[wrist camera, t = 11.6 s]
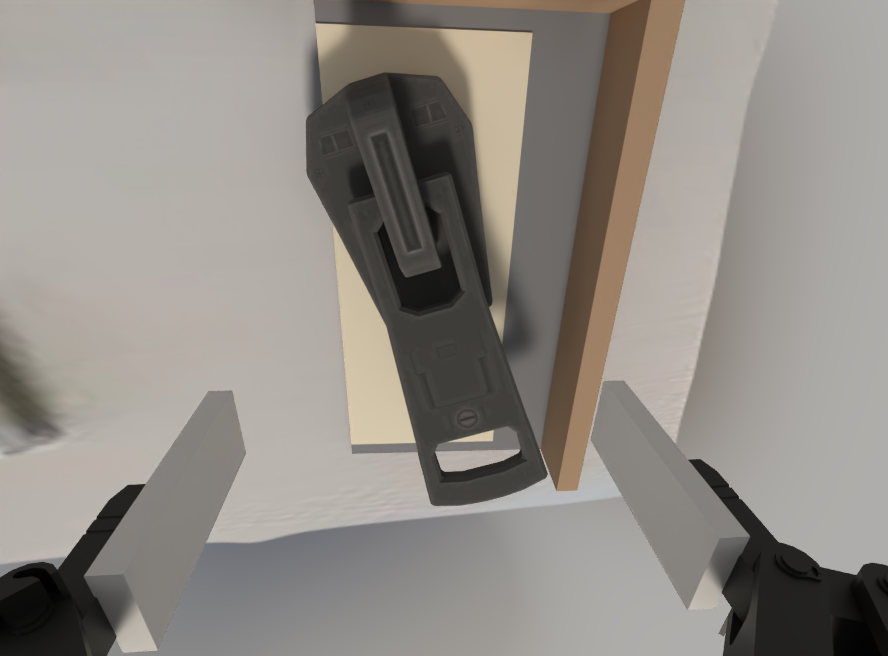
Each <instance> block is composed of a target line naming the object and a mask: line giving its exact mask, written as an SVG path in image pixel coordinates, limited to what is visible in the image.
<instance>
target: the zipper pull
mask: <svg viewBox="0 0 888 656" xmlns="http://www.w3.org/2000/svg"><path fill="white" fill-rule="evenodd" d="M306 158H307V175H308V178H309V180H310V182H311V184H312V185H313V187H314V189H315V191H316V193H317V195H318V197H319V198H320V200H321V202H322V204H323V206H324V208H325V210H326V211H327V213H328V215H329V217H330V219H331V221H332V223H333V225H334V226H335V228H336V230H337V232H338V234H339V236H340V238H341V240H342V242H343V244H344V246H345V248H346V250H347V252H348V253H349V255H350V257H351V259H352V261H353V263H354V265H355V267H356V269H357V271H358V273H359V275H360V277H361V279H362V281H363V283H364V284H365V286H366V288H367V290H368V292H369V294H370V296H371V298H372V300H373V302H374V304H375V306H376V308H377V310H378V312H379V313H380V315H381V317H382V319H383V321H384V323H385V325H386V327H387V331H388V335H389V339H390V343H391V347H392V351H393V355H394V359H395V363H396V367H397V371H398V375H399V379H400V383H401V387H402V390H403V394H404V398H405V402H406V406H407V410H408V414H409V418H410V422H411V426H412V430H413V434H414V438H415V442H416V446H417V451H418V456H419V460H420V464H421V468H422V471H423V475H424V479H425V483H426V487H427V491H428V495H429V498H430V502H431V504H432V505H434V506H459V505H466V504H473V503H479V502H484V501H488V500H492V499H496V498H500V497H503V496H506V495H509V494H512V493H515V492H518V491H521V490H524V489H525V488H527V487H529V486H531V485H533V484H535V483H537V482H539V481H541V480H543V479H545V478H546V477H547V475H548V473H547V470H546V467H545V465H544V462H543V459H542V456H541V453H540V450H539V447H538V444H537V441H536V438H535V435H534V433H533V430H532V427H531V425H530V422H529V420H528V417H527V414H526V412H525V409H524V406H523V403H522V400H521V397H520V394H519V392H518V389H517V386H516V383H515V380H514V377H513V374H512V372H511V369H510V366H509V363H508V360H507V357H506V355H505V352H504V349H503V346H502V343H501V340H500V337H499V335H498V332H497V329H496V326H495V323H494V320H493V317H492V315H491V312H490V309H489V307H490V306H491V305H492V302H493V301H492V292H491V284H490V275H489V267H488V259H487V250H486V242H485V234H484V225H483V217H482V209H481V200H480V192H479V184H478V174H477V165H476V155H475V145H474V136H473V127H472V124H471V122H470V120H469V118H468V117H467V116H466V114H465V113H464V111H463V110H462V108H461V107H460V105H459V104H458V102H457V101H456V99H455V98H454V97H453V95H452V94H451V92H450V91H449V89H448V88H447V86H446V85H445V83H444V82H443V80H442V79H441V78H440V77H438V76H429V75H415V74H401V73H388V72H386V73H381V74H377V75H374V76H371V77H368V78H365V79H362V80H358V81H355V82H352V83H349V84H348V85H346V86H345V87H344V88H343V89H341V90H340V91H339V92H338V93H336V94H335V95H334V96H333V97H332V98H330V99H329V100H328V101H327V102H325V103H324V104H323V105H322V106H320V107H319V108H318V109H317V110H315V111H314V112H313V113H312V114H310V115H309V116H308V118H307V120H306ZM507 426H508V427H510V428H511V429H512V430H514V431H515V432H516V433H517V437H518V440H519V444H520V448H521V450H520V452H519V453H518V454H516V455H514V456H512V457H510V458H508V459H506V460H504V461H501V462H497V463H493V464H489V465H485V466H481V467H477V468H473V469H469V470H465V471H456V472H444V471H443V470H441V468H440V465H439V462H438V459H437V456H436V453H435V450H436V448H437V445H438V444H442V443H445V442H449V441H453V440H457V439H461V438H465V437H469V436H472V435H476V434H480V433H484V432H488V431H492V430H496V429H499V428H503V427H507Z"/></svg>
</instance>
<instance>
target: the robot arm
mask: <svg viewBox="0 0 888 656" xmlns="http://www.w3.org/2000/svg"><path fill="white" fill-rule="evenodd" d="M591 441H592V443H593V445H594V447H595V448H596V450H597V452H598V454H599V455H600V457H601V459H602V461H603V463H604V464H605V466H606V468H607V470H608V471H609V473H610V475H611V477H612V478H613V480H614V482H615V484H616V485H617V487H618V489H619V491H620V492H621V494H622V496H623V498H624V499H625V501H626V503H627V505H628V506H629V508H630V510H631V512H632V514H633V515H634V517H635V519H636V521H637V522H638V524H639V526H640V528H641V529H642V531H643V533H644V535H645V536H646V538H647V540H648V542H649V543H650V545H651V547H652V549H653V550H654V552H655V554H656V556H657V558H658V559H659V561H660V563H661V565H662V566H663V568H664V570H665V572H666V573H667V575H668V577H669V579H670V580H671V582H672V584H673V586H674V588H675V589H676V591H677V593H678V595H679V596H680V598H681V600H682V602H683V603H684V605H685V607H686V609H687V610H701V609H714V608H716V606H717V604H718V602H719V600H720V597H721V595H722V594H723V595H724V597H725V598H726V600H727V601H728V603H729V604H730V606H731V607H732V609H731V610H730V613H729V614H728V616H727V618H726V620H725V622H724V624H723V626H722V628H721V630H720V632H719V634H721V635H722V636H724V635H725V633H726V635H725V643H724V651H723V656H888V566H886V565H883V564H877V563H869V564H865V565H863V566H862V568H861V569H860V571H859V572H858V574H857V575H853V574H849V573H843V572H840V571H835V570H830V569H826V568H822V567H820V566H819V565H818V563H817V562H816V561H814V560H813V559H812V558H811V557H809V556H808V555H807V554H806V553H804V552H802V551H800V550H798V549H797V548H795V547H793V546H790V545H787V544H784V543H779V542H778V541H777V540H776V539H775V538H774V537H773V535H772V534H771V533H770V532H769V531H768V530H767V528H766V527H765V526H764V525H763V524H762V523H761V521H760V520H759V519H758V518H757V517H756V516H755V515H754V513H752V511H751V510H750V509H749V508H748V506H747V505H746V504H745V503H744V502H743V501H742V500H741V499H739V496H738V495H737V494H736V493H735V492H734V490H733V489H732V488H729V484H728V483H727V482H726V481H725V480H724V479H723V478H722V476H721V475H720V474H719V473H718V472H717V471H716V470H715V469H713V468H711V467H710V466H709V465H708V464H706V463H705V462H703V461H702V460H701V459H695V460H688V459H687V458H686V457H685V455H684V454H683V453H682V452H681V451H680V449H679V448H678V447H677V445H676V444H675V443H674V442H673V441H672V439H671V438H670V437H669V436H668V434H667V433H666V432H665V431H664V429H663V428H662V427H661V426H660V425H659V423H658V422H657V421H656V420H655V418H654V417H653V416H652V415H651V413H650V412H649V411H648V410H647V409H646V407H645V406H644V405H643V404H642V402H641V401H640V400H639V399H638V397H637V396H636V395H635V394H634V393H633V391H632V390H631V389H630V388H629V386H628V385H627V384H626V383H625V381H604V382H603V387H602V391H601V396H600V400H599V405H598V409H597V414H596V418H595V423H594V427H593V432H592V436H591ZM245 454H246V451H245V446H244V442H243V437H242V433H241V428H240V424H239V419H238V415H237V410H236V406H235V402H234V397H233V393H232V391H208V393H207V394H206V396H205V397H204V399H203V400H202V402H201V403H200V405H199V406H198V408H197V409H196V411H195V412H194V414H193V415H192V417H191V418H190V420H189V421H188V423H187V424H186V426H185V427H184V429H183V430H182V431H181V433H180V434H179V436H178V437H177V439H176V440H175V442H174V443H173V445H172V446H171V448H170V449H169V451H168V452H167V454H166V455H165V457H164V458H163V460H162V461H161V463H160V464H159V466H158V467H157V468H156V470H155V471H154V473H153V474H152V476H151V477H150V479H149V480H148V482H147V483H146V484H138V485H127V486H126V487H125V488H124V489H122V490H121V491H120V492H119V493H117V494H116V495H115V496H114V497H112V498H111V499H110V500H109V501H108V502H107V504H106V505H105V506H104V508H103V509H102V511H101V512H100V513H99V515H98V516H97V519H96V520H94V521H93V523H92V524H91V525H90V527H89V528H88V529H87V531H86V534H85V535H83V536H82V538H81V539H80V540H79V542H78V543H77V544H76V546H75V547H74V548H73V550H72V551H71V552H70V554H69V555H68V556H67V558H66V559H65V560H64V562H63V563H62V565H61V566H60V567H59V569H58V570H57V569H56V568H55V567H54V565H53V564H49V563H45V562H38V563H31V564H27V565H25V566H22V567H19V568H17V569H14V570H12V571H10V572H8V573H7V574H5V575H3V576H2V577H0V656H107V654H108V652H109V650H110V648H111V647H112V645H113V643H114V641H115V639H116V640H117V642H118V644H119V646H120V648H121V650H122V651H123V653H126V652H140V651H153V650H158V649H159V646H160V644H161V642H162V640H163V637H164V635H165V633H166V631H167V629H168V626H169V624H170V621H171V620H172V617H173V615H174V612H175V610H176V608H177V606H178V604H179V602H180V599H181V597H182V595H183V593H184V591H185V588H186V586H187V584H188V582H189V579H190V577H191V575H192V573H193V570H194V568H195V566H196V564H197V561H198V559H199V557H200V555H201V553H202V550H203V548H204V546H205V544H206V541H207V539H208V537H209V535H210V532H211V530H212V528H213V526H214V523H215V521H216V519H217V517H218V515H219V512H220V510H221V508H222V506H223V503H224V501H225V499H226V497H227V494H228V492H229V490H230V488H231V485H232V483H233V481H234V479H235V477H236V474H237V472H238V470H239V468H240V465H241V463H242V461H243V459H244V456H245Z"/></svg>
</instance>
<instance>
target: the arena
mask: <svg viewBox="0 0 888 656" xmlns="http://www.w3.org/2000/svg"><path fill="white" fill-rule="evenodd" d="M684 3H685V0H314V7H315V19H316V35H317V47H318V59H319V70H320V82H321V94H322V105H323V104H324V103H325V102H327V101H328V100H329V99H330V98H332V97H333V96H334V95H335V94H336V93H338V92H339V91H340V90H341V89H343V88H344V87H345V86H346V85H348V84H349V83H352V82H355V81H358V80H362V79H365V78H368V77H371V76H374V75H377V74H381V73H386V72H388V73H401V74H415V75H429V76H438V77H440V78H441V79H442V80H443V82H444V83H445V85H446V86H447V88H448V89H449V91H450V92H451V94H452V95H453V97H454V98H455V99H456V101H457V102H458V104H459V105H460V107H461V108H462V110H463V111H464V113H465V114H466V116H467V117H468V118H469V120H470V122H471V124H472V127H473V136H474V145H475V155H476V165H477V174H478V184H479V192H480V200H481V209H482V217H483V225H484V234H485V242H486V250H487V259H488V267H489V275H490V284H491V292H492V301H493V302H492V305H491V306H490V307H489V309H490V312H491V315H492V317H493V320H494V323H495V326H496V329H497V332H498V335H499V337H500V340H501V343H502V346H503V349H504V352H505V355H506V357H507V360H508V363H509V366H510V369H511V372H512V374H513V377H514V380H515V383H516V386H517V389H518V392H519V394H520V397H521V400H522V403H523V406H524V409H525V412H526V414H527V417H528V420H529V422H530V425H531V427H532V430H533V433H534V435H535V438H536V441H537V444H538V447H539V449H541V451H542V454H543V456H544V459H545V462H546V464H547V467H548V470H549V472H550V475H551V477H552V480H553V483H554V485H555V488H556V491H573V490H577V488H578V484H579V479H580V475H581V470H582V465H583V461H584V456H585V452H586V447H587V443H588V438H589V434H590V429H591V425H592V420H593V416H594V411H595V407H596V402H597V397H598V393H599V388H600V384H601V379H602V375H603V370H604V366H605V361H606V357H607V352H608V348H609V343H610V339H611V334H612V330H613V325H614V320H615V316H616V311H617V307H618V302H619V298H620V293H621V289H622V284H623V280H624V275H625V271H626V266H627V262H628V257H629V253H630V248H631V243H632V239H633V234H634V230H635V225H636V221H637V216H638V212H639V207H640V203H641V198H642V194H643V189H644V185H645V180H646V175H647V171H648V166H649V162H650V157H651V153H652V148H653V144H654V139H655V135H656V130H657V126H658V121H659V117H660V112H661V108H662V103H663V98H664V94H665V89H666V85H667V80H668V76H669V71H670V67H671V62H672V58H673V53H674V49H675V44H676V40H677V35H678V31H679V26H680V21H681V17H682V12H683V8H684ZM333 235H334V247H335V258H336V270H337V282H338V293H339V305H340V317H341V329H342V340H343V352H344V364H345V376H346V387H347V399H348V411H349V423H350V434H351V445H352V454H355V453H394V452H418V451H417V446H416V442H415V438H414V434H413V430H412V426H411V422H410V418H409V414H408V410H407V406H406V402H405V398H404V394H403V390H402V387H401V383H400V379H399V375H398V371H397V367H396V363H395V359H394V355H393V351H392V347H391V343H390V339H389V335H388V331H387V327H386V325H385V323H384V321H383V319H382V317H381V315H380V313H379V312H378V310H377V308H376V306H375V304H374V302H373V300H372V298H371V296H370V294H369V292H368V290H367V288H366V286H365V284H364V283H363V281H362V279H361V277H360V275H359V273H358V271H357V269H356V267H355V265H354V263H353V261H352V259H351V257H350V255H349V253H348V252H347V250H346V248H345V246H344V244H343V242H342V240H341V238H340V236H339V234H338V232H337V230H336V228H335V226H334V225H333ZM510 449H521V448H520V444H519V440H518V437H517V433H516V432H515V431H514V430H512V429H511V428H510V427H508V426H507V427H503V428H499V429H496V430H492V431H488V432H484V433H480V434H476V435H472V436H469V437H465V438H461V439H457V440H453V441H449V442H445V443H442V444H438V445H437V448H436V450H435V451H472V450H510Z"/></svg>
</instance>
